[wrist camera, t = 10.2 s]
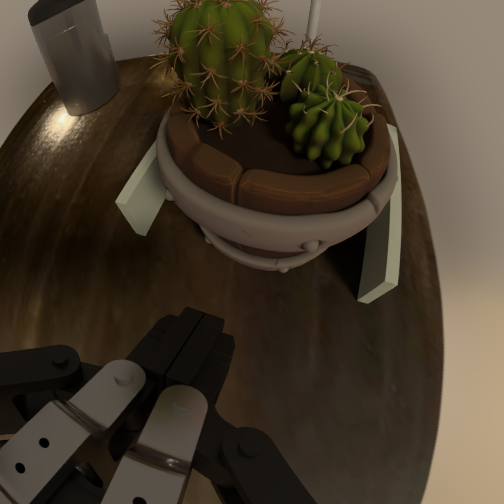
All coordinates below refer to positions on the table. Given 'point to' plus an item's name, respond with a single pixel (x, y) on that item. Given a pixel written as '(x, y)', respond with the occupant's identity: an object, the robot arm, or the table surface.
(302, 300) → the table surface
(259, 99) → the flowerpot
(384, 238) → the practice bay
